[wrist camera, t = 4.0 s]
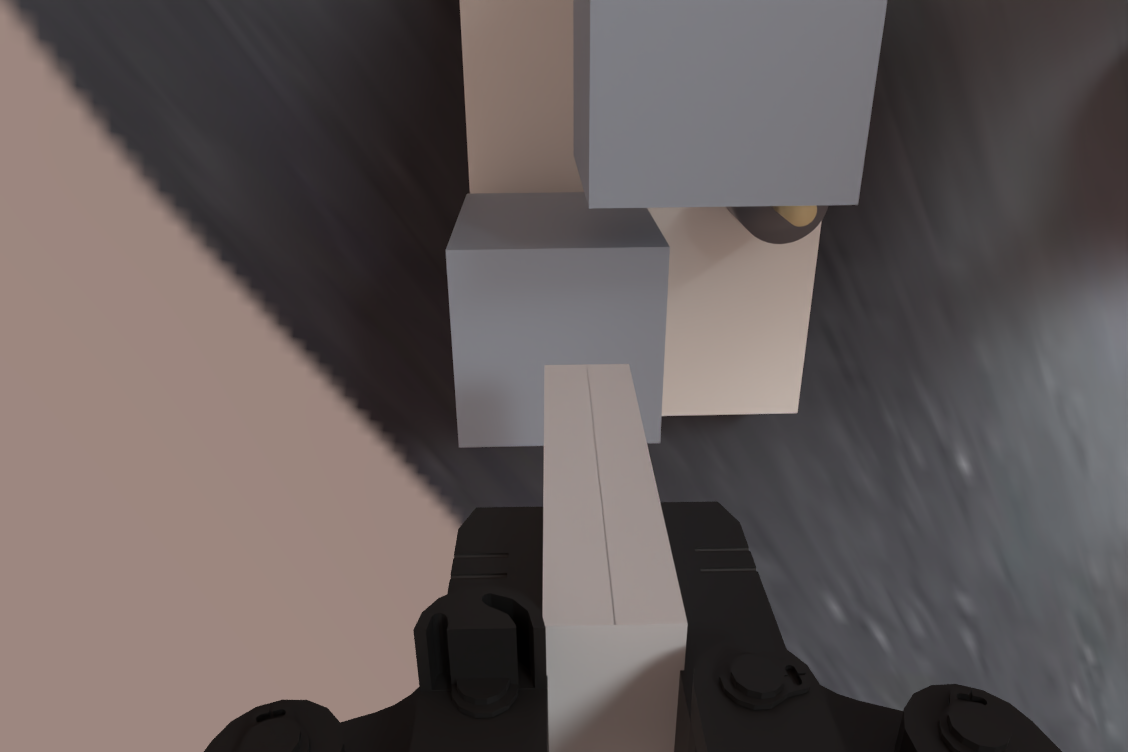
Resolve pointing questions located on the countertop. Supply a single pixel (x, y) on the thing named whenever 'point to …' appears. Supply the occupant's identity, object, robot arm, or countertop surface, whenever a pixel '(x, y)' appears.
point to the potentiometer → (779, 221)
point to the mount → (695, 234)
